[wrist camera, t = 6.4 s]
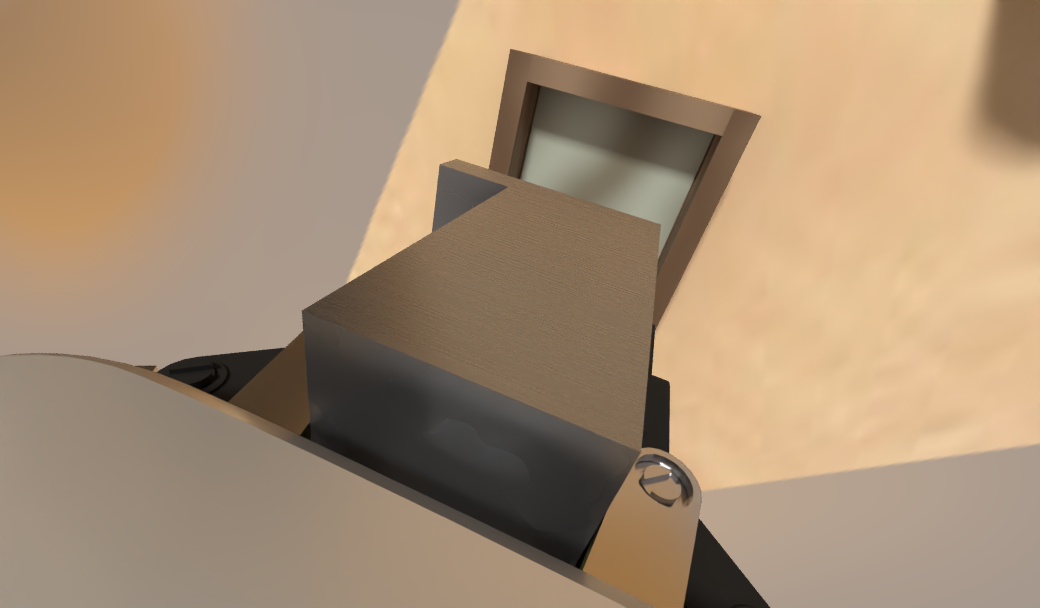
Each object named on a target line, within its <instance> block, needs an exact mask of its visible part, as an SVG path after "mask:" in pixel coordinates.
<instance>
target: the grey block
mask: <svg viewBox="0 0 1040 608" xmlns="http://www.w3.org/2000/svg"><path fill="white" fill-rule="evenodd" d="M660 230H661V224H658V223H655V222H652V221H649V220H645V219H642V218H639V217H636V216H633V215H630V214H627V213H624V212H620V211H617V210H614V209H611V208H608V207H605V206H602V205H599V204H595V203H592V202H589V201H586V200H583V199H580V198H577V197H574V196H570V195H567V194H564V193H561V192H558V191H555V190H552V189H549V188H545V187H542V186H539V185H536V184H533V183H530V182H527V181H524V180H520V179H517V178H514V177H511V176H508V175H505V174H502V173H499V172H495V171H492V170H489V169H486V168H483V167H480V166H477V165H474V164H470V163H467V162H464V161H461V160H458V159H455V160H452V161H449V162H446V163H443V164H440V167H439V176H438V184H437V193H436V202H435V211H434V219H433V228H432V233H431V234H429V235H427V236H426V237H424V238H422V239H421V240H419V241H417V242H416V243H414V244H412V245H411V246H409V247H407V248H406V249H404V250H402V251H401V252H399V253H397V254H396V255H394V256H392V257H391V258H389V259H387V260H386V261H384V262H382V263H381V264H379V265H377V266H376V267H374V268H372V269H371V270H369V271H367V272H366V273H364V274H362V275H361V276H359V277H357V278H356V279H354V280H352V281H351V282H349V283H347V284H346V285H344V286H342V287H341V288H339V289H337V290H336V291H334V292H332V293H331V294H329V295H327V296H326V297H324V298H322V299H321V300H319V301H317V302H316V303H314V304H312V305H311V306H309V307H307V308H306V309H304V310H302V317H303V318H302V319H303V333H304V346H305V359H306V372H307V385H308V399H309V412H310V425H311V438H312V442H314V443H316V444H318V445H321V446H323V447H325V448H327V449H329V450H331V451H333V452H335V453H338V454H340V455H342V456H344V457H346V458H348V459H350V460H352V461H354V462H357V463H359V464H361V465H363V466H365V467H367V468H369V469H371V470H373V471H376V472H378V473H380V474H382V475H384V476H386V477H388V478H390V479H392V480H394V481H397V482H399V483H401V484H403V485H405V486H407V487H409V488H411V489H413V490H415V491H418V492H420V493H422V494H424V495H426V496H428V497H430V498H432V499H434V500H436V501H438V502H441V503H443V504H445V505H447V506H449V507H451V508H453V509H455V510H457V511H459V512H461V513H464V514H466V515H468V516H470V517H472V518H474V519H476V520H478V521H480V522H482V523H485V524H487V525H489V526H491V527H493V528H495V529H497V530H499V531H501V532H503V533H505V534H507V535H509V536H511V537H513V538H516V539H518V540H520V541H522V542H524V543H526V544H528V545H530V546H532V547H534V548H536V549H538V550H540V551H542V552H545V553H547V554H549V555H551V556H553V557H555V558H557V559H559V560H561V561H563V562H565V563H567V564H569V565H571V566H573V567H574V566H575V565H576V563H577V561H578V560H579V558H580V556H581V554H582V553H583V551H584V549H585V548H586V546H587V544H588V542H589V541H590V539H591V537H592V536H593V534H594V532H595V530H596V529H597V527H598V525H599V524H600V522H601V520H602V518H603V517H604V515H605V513H606V512H607V510H608V508H609V506H610V505H611V503H612V501H613V500H614V498H615V496H616V494H617V493H618V491H619V489H620V488H621V486H622V484H623V482H624V481H625V479H626V477H627V476H628V474H629V472H630V470H631V469H632V467H633V465H634V464H635V462H636V460H637V458H638V457H639V455H640V453H641V448H642V437H643V425H644V414H645V402H646V391H647V379H648V368H649V356H650V345H651V333H652V322H653V310H654V299H655V287H656V276H657V264H658V253H659V242H660Z"/></svg>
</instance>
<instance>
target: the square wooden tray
mask: <svg viewBox="0 0 1040 608" xmlns="http://www.w3.org/2000/svg"><path fill="white" fill-rule="evenodd" d="M760 118H761V116H760V115H756V114H753V113H750V112H747V111H743V110H739V109H735V108H732V107H728V106H724V105H720V104H717V103H713V102H709V101H706V100H702V99H698V98H694V97H691V96H687V95H683V94H679V93H676V92H672V91H668V90H664V89H661V88H657V87H653V86H649V85H646V84H642V83H638V82H634V81H631V80H627V79H623V78H620V77H616V76H612V75H608V74H605V73H601V72H597V71H593V70H590V69H586V68H582V67H578V66H575V65H571V64H567V63H563V62H560V61H556V60H552V59H549V58H545V57H541V56H537V55H534V54H530V53H525V52H521V51H517V50H513V49H510V54H509V60H508V65H507V71H506V76H505V82H504V87H503V93H502V99H501V104H500V110H499V115H498V121H497V126H496V132H495V137H494V143H493V149H492V154H491V160H490V165H489V170H492V171H495V172H499V173H502V174H505V175H508V176H511V177H514V178H517V179H520V180H524V181H527V182H530V183H533V184H536V185H539V186H542V187H545V188H549V189H552V190H555V191H558V192H561V193H564V194H567V195H570V196H574V197H577V198H580V199H583V200H586V201H589V202H592V203H595V204H599V205H602V206H605V207H608V208H611V209H614V210H617V211H620V212H624V213H627V214H630V215H633V216H636V217H639V218H642V219H645V220H649V221H652V222H655V223H658V224H661V230H660V242H659V253H658V264H657V276H656V287H655V299H654V310H653V322H652V324H654V325H655V329H656V327H657V325H658V323H659V321H660V319H661V317H662V315H663V313H664V311H665V309H666V307H667V305H668V303H669V301H670V299H671V297H672V295H673V293H674V291H675V289H676V287H677V285H678V283H679V281H680V279H681V277H682V275H683V273H684V271H685V269H686V267H687V265H688V263H689V261H690V259H691V257H692V255H693V253H694V251H695V249H696V247H697V245H698V243H699V241H700V239H701V237H702V235H703V233H704V230H705V228H706V226H707V224H708V222H709V220H710V218H711V216H712V214H713V212H714V210H715V208H716V206H717V204H718V202H719V200H720V198H721V196H722V194H723V192H724V190H725V188H726V186H727V184H728V182H729V180H730V178H731V176H732V174H733V172H734V170H735V168H736V166H737V164H738V162H739V160H740V158H741V156H742V154H743V152H744V150H745V148H746V146H747V144H748V142H749V140H750V138H751V136H752V134H753V132H754V130H755V128H756V126H757V124H758V122H759V120H760Z"/></svg>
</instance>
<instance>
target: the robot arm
mask: <svg viewBox="0 0 1040 608" xmlns="http://www.w3.org/2000/svg"><path fill="white" fill-rule="evenodd" d="M654 335H655V325H654V324H652V333H651V345H650V356H649V368H648V379H647V391H646V402H645V414H644V425H643V437H642V448H641V453H640V455H639V457H638V458H637V460H636V462H635V464H634V465H633V467H632V469H631V470H630V472H629V474H628V476H627V477H626V479H625V481H624V482H623V484H622V486H621V488H620V489H619V491H618V493H617V494H616V496H615V498H614V500H613V501H612V503H611V505H610V506H609V508H608V510H607V512H606V513H605V515H604V517H603V518H602V520H601V522H600V524H599V525H598V527H597V529H596V530H595V532H594V534H593V536H592V537H591V539H590V541H589V542H588V544H587V546H586V548H585V549H584V551H583V553H582V554H581V556H580V558H579V560H578V561H577V563H576V565H575V566H574V567H573V566H571V565H569V564H567V563H565V562H563V561H561V560H559V559H557V558H555V557H553V556H551V555H549V554H547V553H545V552H542V551H540V550H538V549H536V548H534V547H532V546H530V545H528V544H526V543H524V542H522V541H520V540H518V539H516V538H513V537H511V536H509V535H507V534H505V533H503V532H501V531H499V530H497V529H495V528H493V527H491V526H489V525H487V524H485V523H482V522H480V521H478V520H476V519H474V518H472V517H470V516H468V515H466V514H464V513H461V512H459V511H457V510H455V509H453V508H451V507H449V506H447V505H445V504H443V503H441V502H438V501H436V500H434V499H432V498H430V497H428V496H426V495H424V494H422V493H420V492H418V491H415V490H413V489H411V488H409V487H407V486H405V485H403V484H401V483H399V482H397V481H394V480H392V479H390V478H388V477H386V476H384V475H382V474H380V473H378V472H376V471H373V470H371V469H369V468H367V467H365V466H363V465H361V464H359V463H357V462H354V461H352V460H350V459H348V458H346V457H344V456H342V455H340V454H338V453H335V452H333V451H331V450H329V449H327V448H325V447H323V446H321V445H318V444H316V443H314V442H312V438H311V425H310V412H309V399H308V385H307V372H306V359H305V346H304V333H303V331H302V332H301V333H300V334H299V335H298V336H297V337H296V338H295V339H294V340H293V341H292V342H291V343H290V344H289V345H288V346H287V347H286V348H278V349H269V350H259V351H249V352H239V353H230V354H220V355H211V356H202V357H195V358H189V359H184V360H181V361H178V362H175V363H173V364H170V365H168V366H166V367H165V368H163V369H161V370H159V371H158V369H157V366H133V365H129V364H126V363H121V362H116V361H111V360H106V359H101V358H96V357H90V356H79V355H70V354H58V353H28V354H27V353H26V354H11V355H4V356H0V608H770V607H769V606H768V604H767V603H766V602H765V601H764V599H763V598H762V597H761V596H760V594H759V593H758V592H757V591H756V589H755V588H754V587H753V586H752V584H751V583H750V582H749V580H748V579H747V578H746V577H745V575H744V574H743V573H742V572H741V570H740V569H739V568H738V567H737V565H736V564H735V563H734V562H733V560H732V559H731V558H730V557H729V555H728V554H727V553H726V552H725V550H724V549H723V548H722V547H721V545H720V544H719V543H718V542H717V540H716V539H715V538H714V537H713V535H712V534H711V533H710V531H709V530H708V529H707V528H706V526H705V525H704V524H703V523H702V521H700V519H699V514H700V507H701V503H702V497H701V489H700V487H699V484H698V481H697V480H696V478H695V477H694V475H693V474H692V472H691V471H690V470H689V469H688V468H687V467H686V466H685V465H684V464H683V463H682V461H680V460H679V459H677V458H676V457H674V456H673V455H671V454H669V420H670V384H669V382H668V381H666V380H664V379H661V378H658V377H656V376H653V375H652V362H653V349H654Z"/></svg>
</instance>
